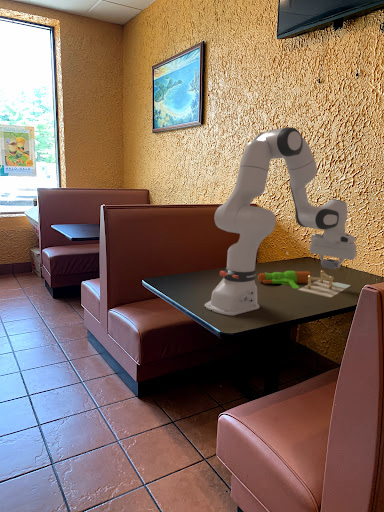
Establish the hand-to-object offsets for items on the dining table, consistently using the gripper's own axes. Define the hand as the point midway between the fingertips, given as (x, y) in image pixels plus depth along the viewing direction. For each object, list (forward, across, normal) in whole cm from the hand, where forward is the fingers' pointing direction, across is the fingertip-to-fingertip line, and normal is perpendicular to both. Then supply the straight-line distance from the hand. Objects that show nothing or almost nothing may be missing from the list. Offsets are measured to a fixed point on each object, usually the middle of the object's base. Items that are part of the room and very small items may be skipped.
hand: (330, 265), depth 172 cm
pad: (+10, +3, +7) cm, 13 cm away
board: (+11, -1, -2) cm, 12 cm away
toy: (+12, -16, -10) cm, 22 cm away
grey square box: (+1, 0, 0) cm, 1 cm away
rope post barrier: (+10, -2, -2) cm, 10 cm away
